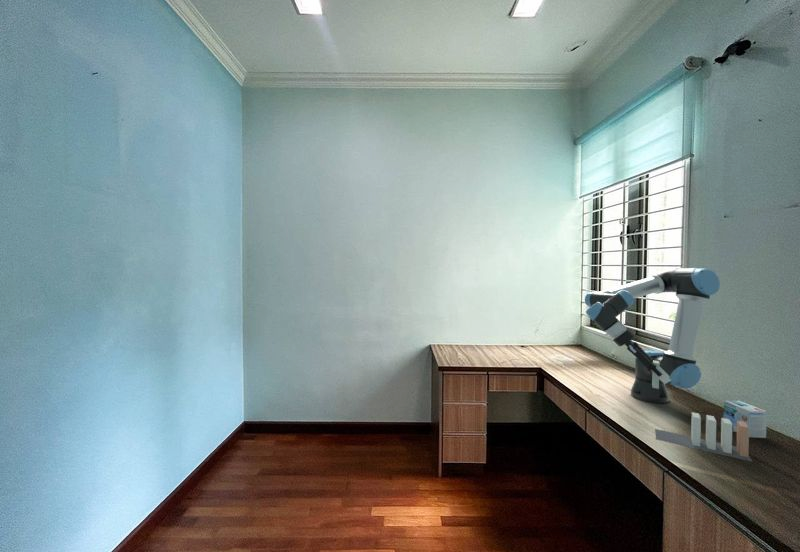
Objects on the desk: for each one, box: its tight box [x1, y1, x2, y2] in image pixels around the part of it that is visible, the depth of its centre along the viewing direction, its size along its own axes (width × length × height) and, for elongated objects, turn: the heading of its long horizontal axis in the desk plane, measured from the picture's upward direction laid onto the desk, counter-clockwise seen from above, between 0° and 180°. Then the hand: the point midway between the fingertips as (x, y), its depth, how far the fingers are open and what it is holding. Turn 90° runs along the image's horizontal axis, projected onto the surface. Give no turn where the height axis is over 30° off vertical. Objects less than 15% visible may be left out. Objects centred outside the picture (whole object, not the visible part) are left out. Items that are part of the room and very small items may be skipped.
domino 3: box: [705, 414, 717, 450], centre depth 120 cm, size 5×2×10 cm, turn 145°
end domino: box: [736, 421, 750, 457], centre depth 115 cm, size 5×2×10 cm, turn 145°
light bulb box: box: [722, 400, 768, 439], centre depth 131 cm, size 11×7×11 cm, turn 178°
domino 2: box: [690, 411, 702, 446], centre depth 122 cm, size 5×2×10 cm, turn 145°
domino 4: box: [720, 417, 733, 454], centre depth 117 cm, size 5×2×10 cm, turn 145°
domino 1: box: [652, 360, 660, 389], centre depth 138 cm, size 5×2×10 cm, turn 145°
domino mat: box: [654, 428, 753, 462], centre depth 121 cm, size 10×25×1 cm, turn 55°
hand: (667, 380), depth 136 cm, fingers closed on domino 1, 5 cm apart
